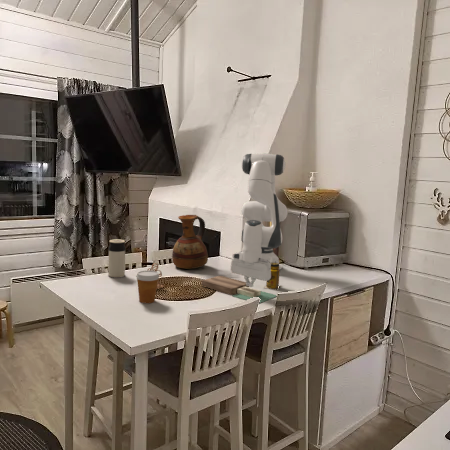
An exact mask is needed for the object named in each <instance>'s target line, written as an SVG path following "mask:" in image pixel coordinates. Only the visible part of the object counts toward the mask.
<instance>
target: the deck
mask: <svg viewBox="0 0 450 450" xmlns="http://www.w3.org/2000/svg"><path fill="white" fill-rule="evenodd" d="M201 285H203V286H206V287H208V288H211V289H214V290H213V291H215V290H216V291H215V292H219V293H222V294H226V295H229V296H233V295H236V294H238V293H237V289H238V288H241V287H249V286H246V281H243V280H240V279H236V278H235V279H234V278H232V277H228V276H223V275H217V276H213V277H209V278H206V279H205V278H204V279H202V280H201V284H200V286H201ZM208 288H207V289H208ZM249 288H250V287H249ZM211 289H210V290H211Z"/></svg>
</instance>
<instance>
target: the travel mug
mask: <svg viewBox="0 0 450 450" xmlns="http://www.w3.org/2000/svg"><path fill="white" fill-rule="evenodd" d="M125 242H126V241H125V240H124V239H120V238H119V239H116V238H115V239H110V240H109V246H108V274H107V275H108V277H110V278H113V277H114V278H124V276H125V275H126V246H125Z"/></svg>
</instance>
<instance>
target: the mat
mask: <svg viewBox="0 0 450 450" xmlns="http://www.w3.org/2000/svg"><path fill="white" fill-rule="evenodd" d="M260 291H261V295H259V296H256V297H259V298H260V299H261V300H260V303H259V304H262V303H264V302H267V301H269V299H270V300H272V299H274V297H275V298H276V295H277V294H273V293H271V292H266V291H262V290H260ZM233 297H234V298H237V299H240V300H245V301H247V299H250V298H252V297H249V296H245V295H242V294H238V293H236V294H233V295H232V298H233ZM271 298H272V299H271ZM261 302H262V303H261Z"/></svg>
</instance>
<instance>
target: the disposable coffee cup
mask: <svg viewBox="0 0 450 450" xmlns="http://www.w3.org/2000/svg"><path fill="white" fill-rule="evenodd" d="M159 274H160V273H159V271H157V272H156V271H155V270H154V271H153V270H152V271H147V270H139V271H138V272H136V275H135V277H136V280H137V290H138V299H139V300H138V302H139V303H142V304H152V303H153V304H154V302H155V301H156V295H157V290H156V289H157V283H158V280H159V278H160V277H159V276H160V275H159Z"/></svg>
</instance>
